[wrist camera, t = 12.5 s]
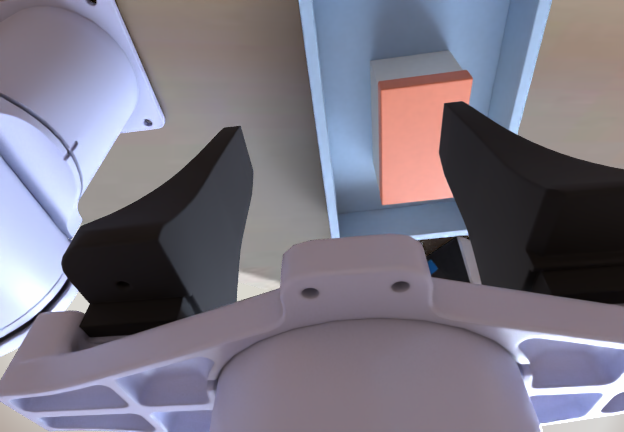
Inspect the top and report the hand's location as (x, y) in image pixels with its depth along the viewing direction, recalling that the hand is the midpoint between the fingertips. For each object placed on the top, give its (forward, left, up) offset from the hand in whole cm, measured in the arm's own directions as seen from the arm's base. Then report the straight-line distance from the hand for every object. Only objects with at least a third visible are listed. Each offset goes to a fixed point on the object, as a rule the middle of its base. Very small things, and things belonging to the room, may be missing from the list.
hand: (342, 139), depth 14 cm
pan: (+4, -5, -10) cm, 12 cm away
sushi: (+4, -5, -10) cm, 12 cm away
